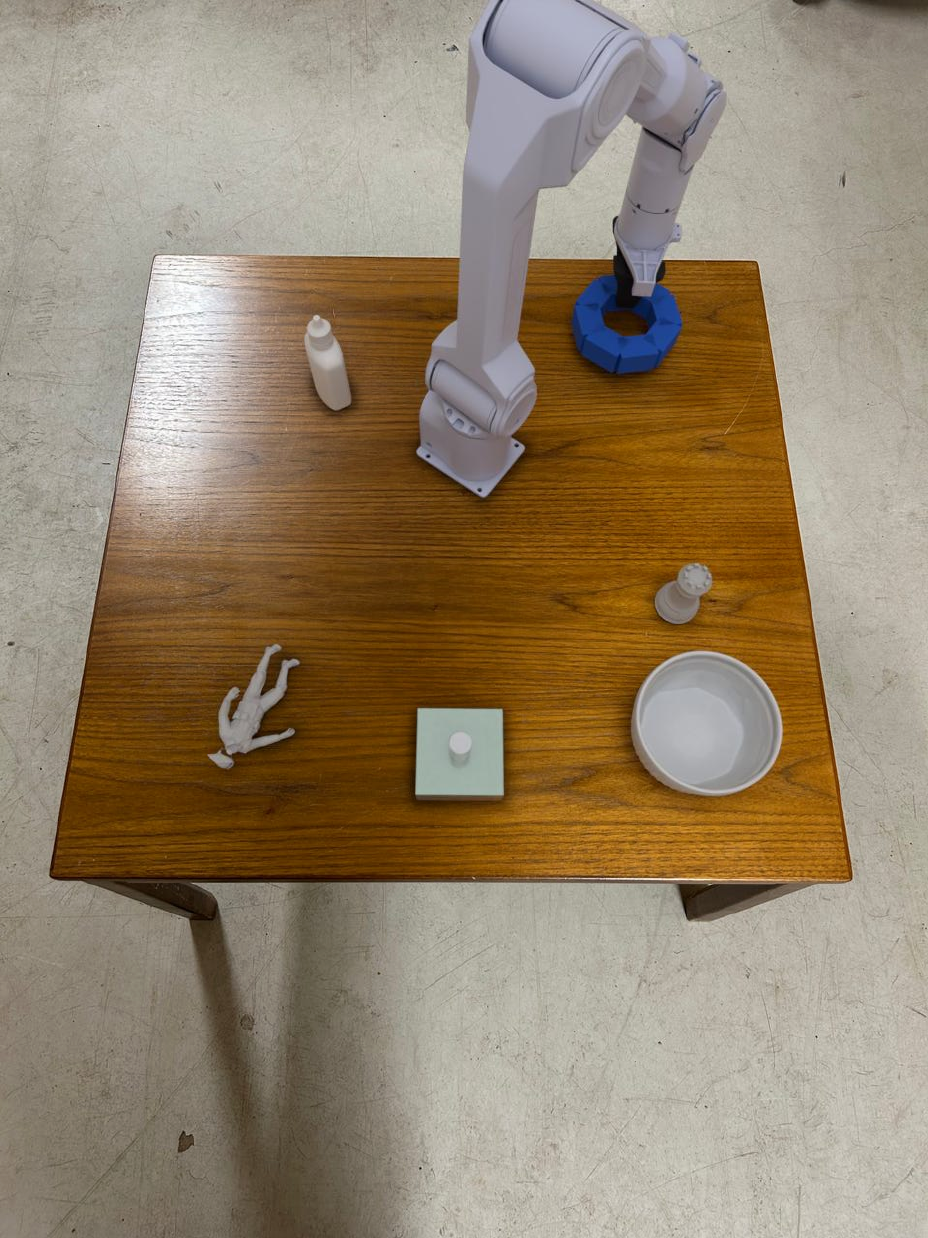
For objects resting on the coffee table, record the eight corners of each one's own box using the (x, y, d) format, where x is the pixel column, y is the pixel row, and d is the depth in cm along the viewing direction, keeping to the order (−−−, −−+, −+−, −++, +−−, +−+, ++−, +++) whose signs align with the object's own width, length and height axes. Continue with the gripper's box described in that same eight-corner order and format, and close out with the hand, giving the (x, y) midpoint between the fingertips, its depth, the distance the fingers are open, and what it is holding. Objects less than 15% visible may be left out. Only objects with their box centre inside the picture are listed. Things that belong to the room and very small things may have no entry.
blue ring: (554, 338, 90) (557, 321, 87) (607, 276, 93) (612, 257, 90) (639, 389, 87) (645, 373, 85) (691, 323, 91) (698, 306, 88)
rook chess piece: (694, 629, 80) (719, 601, 72) (650, 620, 80) (672, 592, 73) (698, 589, 81) (724, 558, 74) (656, 581, 82) (677, 549, 74)
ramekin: (629, 808, 74) (647, 799, 67) (611, 674, 78) (626, 653, 72) (766, 798, 74) (797, 789, 68) (740, 666, 79) (767, 645, 72)
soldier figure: (322, 678, 78) (276, 783, 71) (292, 687, 81) (245, 789, 74) (266, 631, 74) (211, 738, 67) (236, 643, 77) (180, 746, 70)
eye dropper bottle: (353, 371, 90) (339, 295, 78) (351, 412, 88) (337, 340, 77) (315, 370, 90) (296, 294, 78) (312, 412, 88) (292, 340, 76)
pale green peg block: (416, 800, 73) (413, 789, 66) (418, 717, 76) (415, 697, 69) (501, 800, 74) (507, 789, 66) (500, 717, 76) (506, 698, 69)
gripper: (698, 251, 75) (661, 345, 88) (691, 141, 80) (657, 246, 93) (625, 246, 75) (599, 341, 88) (623, 137, 80) (598, 242, 93)
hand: (625, 292), depth 90 cm, fingers closed on blue ring, 3 cm apart
